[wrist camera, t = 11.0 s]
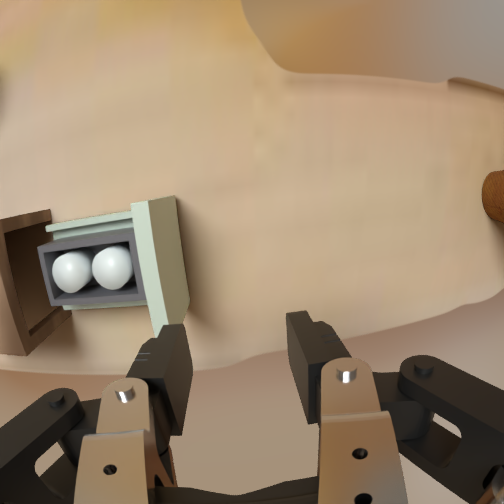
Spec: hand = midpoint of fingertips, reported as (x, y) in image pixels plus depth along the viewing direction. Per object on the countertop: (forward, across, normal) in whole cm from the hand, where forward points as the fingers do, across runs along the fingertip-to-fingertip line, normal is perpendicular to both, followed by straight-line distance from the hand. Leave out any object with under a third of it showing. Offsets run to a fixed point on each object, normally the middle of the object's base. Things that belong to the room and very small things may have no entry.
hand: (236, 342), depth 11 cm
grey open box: (+18, +13, 0) cm, 22 cm away
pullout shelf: (+19, +12, 0) cm, 22 cm away
